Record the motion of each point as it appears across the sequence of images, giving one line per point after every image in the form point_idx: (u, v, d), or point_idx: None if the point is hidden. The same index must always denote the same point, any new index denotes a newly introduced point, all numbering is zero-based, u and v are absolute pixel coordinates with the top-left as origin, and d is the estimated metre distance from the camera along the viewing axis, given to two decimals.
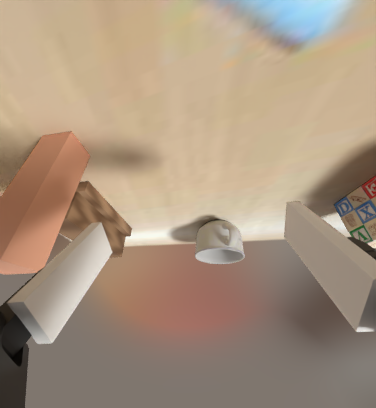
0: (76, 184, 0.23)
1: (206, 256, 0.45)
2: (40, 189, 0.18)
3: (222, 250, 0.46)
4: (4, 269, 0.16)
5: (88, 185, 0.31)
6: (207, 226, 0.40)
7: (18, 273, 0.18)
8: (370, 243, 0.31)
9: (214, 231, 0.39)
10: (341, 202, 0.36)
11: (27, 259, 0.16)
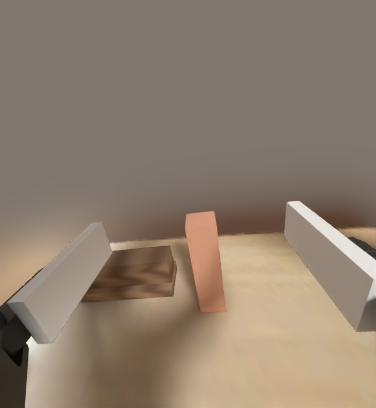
0: (197, 288, 0.28)
1: None
2: (220, 267, 0.26)
3: None
4: (197, 218, 0.25)
5: (171, 293, 0.33)
6: None
7: (186, 219, 0.26)
8: None
9: None
10: None
11: (200, 231, 0.23)
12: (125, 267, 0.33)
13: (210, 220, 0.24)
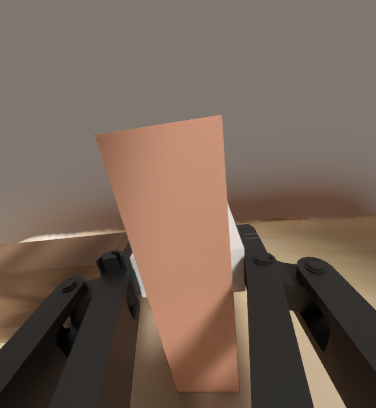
0: (165, 339, 0.10)
1: None
2: (230, 286, 0.08)
3: None
4: None
5: None
6: None
7: None
8: None
9: None
10: None
11: (158, 147, 0.06)
12: (20, 276, 0.15)
13: None
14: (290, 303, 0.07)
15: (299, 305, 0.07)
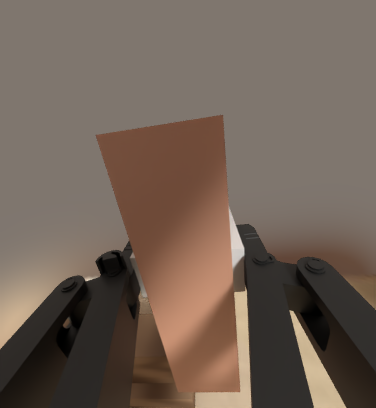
0: (166, 340, 0.10)
1: None
2: (231, 286, 0.08)
3: None
4: None
5: (191, 405, 0.19)
6: None
7: None
8: None
9: None
10: None
11: (160, 147, 0.06)
12: None
13: None
14: (290, 303, 0.07)
15: (299, 305, 0.07)
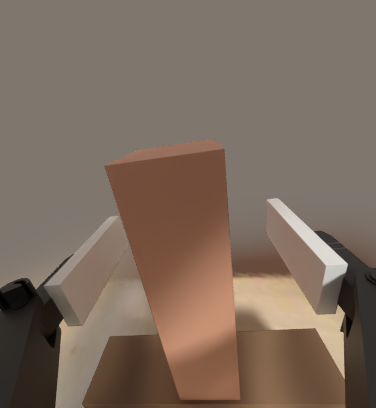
0: (169, 351, 0.10)
1: None
2: (231, 302, 0.09)
3: None
4: (162, 149, 0.08)
5: None
6: None
7: (130, 154, 0.08)
8: None
9: None
10: None
11: (164, 177, 0.06)
12: None
13: (202, 146, 0.07)
14: None
15: None
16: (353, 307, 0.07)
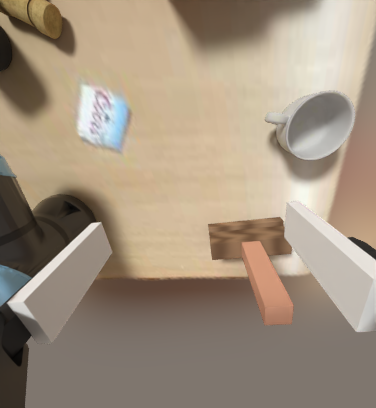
0: (266, 257, 0.36)
1: (334, 142, 0.33)
2: (253, 272, 0.33)
3: (338, 117, 0.33)
4: (281, 317, 0.28)
5: (209, 225, 0.47)
6: (278, 141, 0.37)
7: (292, 317, 0.27)
8: None
9: (278, 135, 0.35)
10: None
11: (277, 302, 0.27)
12: (243, 239, 0.42)
13: (269, 313, 0.27)
14: None
15: None
16: None
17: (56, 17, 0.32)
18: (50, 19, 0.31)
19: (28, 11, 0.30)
